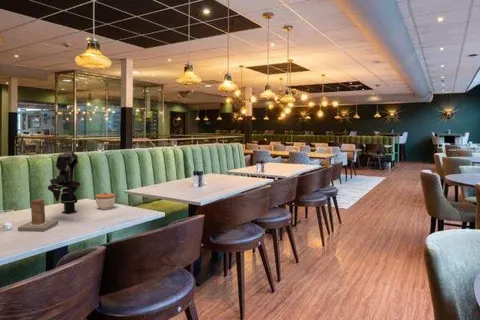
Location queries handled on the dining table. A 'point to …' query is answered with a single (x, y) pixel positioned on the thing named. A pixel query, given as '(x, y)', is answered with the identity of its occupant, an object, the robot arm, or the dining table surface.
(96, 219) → the dining table surface
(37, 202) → the walnut pillar
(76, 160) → the robot arm
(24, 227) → the foundation slab
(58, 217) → the dining table surface
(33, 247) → the dining table surface
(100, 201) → the lidded bowl
